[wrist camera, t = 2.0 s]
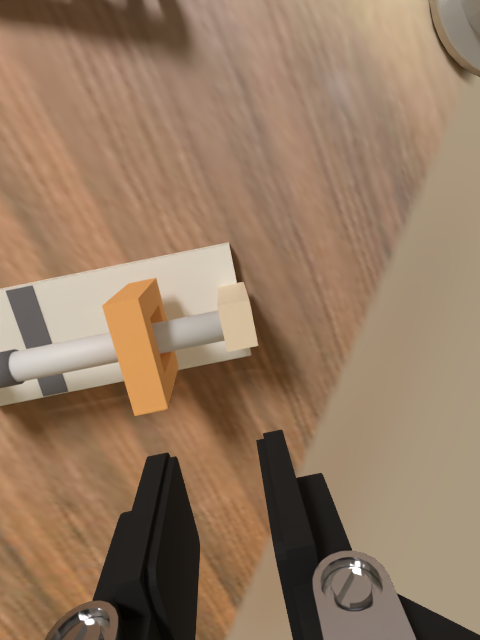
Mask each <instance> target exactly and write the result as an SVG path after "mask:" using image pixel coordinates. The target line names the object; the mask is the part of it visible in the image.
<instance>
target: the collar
mask: <svg viewBox="0 0 480 640" xmlns="http://www.w3.org/2000/svg"><path fill="white" fill-rule="evenodd" d="M102 307H103V311H104V314H105V318H106V321H107V324H108V328H109V331H110V334H111V338H112V341H113V345H114V348H115V351H116V355H117V358H118V362H119V365H120V368H121V372H122V375H123V378H124V382H125V385H126V389H127V392H128V395H129V399H130V402H131V405H132V409H133V412H134V416H136V415H141V414H146V413H151V412H156V411H161V410H166V409H168V407H169V403H170V399H171V395H172V391H173V387H174V383H175V379H176V375H177V371H178V367H179V365H178V362H177V358H176V354H175V351H171V352H166V353H161V354H159V350H158V347H157V343H156V339H155V335H154V332H153V328H152V324H153V323H158V322H163V321H167V318H166V314H165V310H164V306H163V302H162V299H161V295H160V291H159V287H158V283H157V279H156V278H152V279H147V280H142V281H138V282H133V283H128V284H127V285H126V286H125V287H123V288H122V289H121V290H120V291H119V292H118V293H116V294H115V295H114V296H113V297H112V298H111V299H109V300H108V301H107V302H106V303H105V304H103V305H102Z"/></svg>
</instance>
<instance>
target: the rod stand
mask: <svg viewBox="0 0 480 640" xmlns="http://www.w3.org/2000/svg"><path fill="white" fill-rule="evenodd" d="M152 278H156V279H157V283H158V287H159V291H160V295H161V299H162V302H163V306H164V310H165V314H166V318H167V321H163V322H158V323H153V324H152V328H153V332H154V335H155V339H156V343H157V347H158V350H159V354H161V353H166V352H171V351H175V354H176V358H177V362H178V365H179V367H178V370H181V369H186V368H191V367H196V366H201V365H206V364H211V363H216V362H221V361H226V360H231V359H236V358H241V357H246V356H251V351H250V347H255V346H258V342H257V337H256V332H255V327H254V321H253V316H252V311H251V306H250V301H249V298H248V294H247V291H246V288H245V285H244V282H239V283H237V281H236V276H235V271H234V266H233V261H232V256H231V251H230V246H229V242H228V243H223V244H218V245H213V246H208V247H203V248H198V249H193V250H188V251H183V252H178V253H173V254H169V255H164V256H159V257H154V258H149V259H144V260H139V261H134V262H129V263H124V264H119V265H114V266H109V267H105V268H100V269H95V270H90V271H85V272H80V273H75V274H70V275H65V276H60V277H55V278H50V279H45V280H41V281H36V282H31V283H26V284H21V285H16V286H11V287H6V288H1V289H0V406H3V405H8V404H13V403H18V402H23V401H28V400H33V399H38V398H43V397H48V396H53V395H58V394H63V393H67V392H72V391H77V390H82V389H87V388H92V387H97V386H102V385H107V384H112V383H117V382H122V381H124V378H123V375H122V372H121V368H120V365H119V362H118V358H117V355H116V351H115V348H114V345H113V341H112V338H111V334H110V331H109V328H108V324H107V321H106V318H105V314H104V311H103V307H102V305H103V304H105V303H106V302H107V301H108V300H109V299H111V298H112V297H113V296H114V295H115V294H116V293H118V292H119V291H120V290H121V289H122V288H123V287H125V286H126V285H127V284H128V283H133V282H138V281H142V280H147V279H152Z"/></svg>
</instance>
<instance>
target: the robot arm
mask: <svg viewBox="0 0 480 640" xmlns="http://www.w3.org/2000/svg"><path fill="white" fill-rule="evenodd" d="M429 2H430V8H431V13H432V18H433V23H434V25H435V28H436V30H437V33H438V36H439V38H440V40H441V42H442V43H443V45H444V47H445V48H446V50H447V51H448V53H449V54H450V55H451V56H452V57H453V58H454V59H455V60H456V62H457V63H458V64H459V65H460V66H462V67H463V68H465V69H466V70H468V71H469V72H471V73H472V74H474V75H477V76H479V77H480V0H429ZM263 436H264V439H260V440H256V441H257V447H258V454H259V460H260V466H261V472H262V479H263V485H264V491H265V497H266V503H267V510H268V516H269V522H270V528H271V535H272V541H273V546H274V551H275V557H276V562H277V567H278V571H279V576H280V581H281V585H282V590H283V595H284V599H285V604H286V609H287V614H288V618H289V623H290V628H291V632H292V637H293V640H480V635H478V634H476V633H474V632H472V631H470V630H468V629H466V628H465V627H462V626H461V625H459V624H457V623H455V622H453V621H451V620H449V619H447V618H444V617H443V616H441V615H439V614H437V613H435V612H433V611H431V610H429V609H427V608H425V607H423V606H421V605H419V604H417V603H415V602H413V601H411V600H409V599H407V598H405V597H403V596H401V595H399V594H397V593H396V590H395V588H394V586H393V583H392V581H391V579H390V577H389V575H388V573H387V572H386V570H385V568H384V567H383V566H382V565H381V564H380V563H379V562H378V561H377V560H376V559H375V558H373V557H371V556H369V555H367V554H365V553H361V552H356V551H352V548H351V546H350V544H349V541H348V538H347V536H346V533H345V530H344V528H343V525H342V523H341V520H340V518H339V515H338V513H337V510H336V507H335V505H334V502H333V500H332V497H331V495H330V492H329V489H328V487H327V484H326V482H325V479H324V477H323V475H322V473H318V474H313V475H308V476H304V477H298V478H296V476H295V473H294V469H293V466H292V462H291V459H290V455H289V452H288V448H287V445H286V441H285V438H284V434H283V431H282V430H277V431H273V432H268V433H263ZM199 561H200V541H199V536H198V532H197V528H196V524H195V521H194V517H193V513H192V510H191V506H190V502H189V499H188V495H187V491H186V488H185V484H184V480H183V477H182V473H181V469H180V466H179V462H178V459H177V457H170V455H169V453H163V454H158V455H153V456H148V457H147V459H146V462H145V466H144V469H143V473H142V476H141V480H140V483H139V487H138V490H137V494H136V497H135V501H134V504H133V508H132V511H129V512H124V513H122V514H121V515H120V517H119V519H118V523H117V526H116V529H115V532H114V535H113V538H112V541H111V544H110V548H109V551H108V554H107V557H106V560H105V563H104V566H103V569H102V572H101V576H100V579H99V582H98V585H97V588H96V591H95V594H94V597H93V601H90V602H87V603H84V604H81V605H79V606H77V607H75V608H74V609H72V610H70V611H69V612H67V613H66V614H65V615H64V616H63V617H62V618H61V619H59V620H58V621H57V622H56V624H55V625H54V626H53V627H52V629H51V630H50V631H49V632H48V634H47V636H46V638H45V640H195V634H196V616H197V597H198V579H199Z"/></svg>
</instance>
